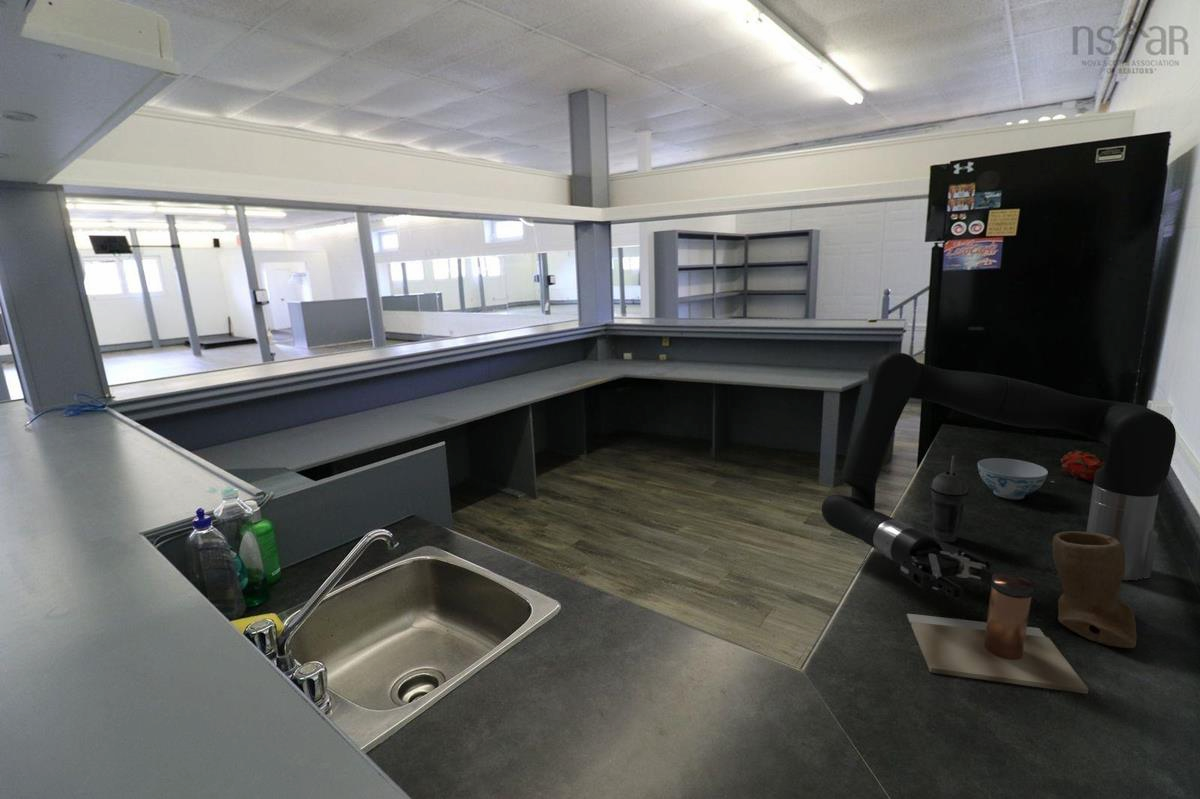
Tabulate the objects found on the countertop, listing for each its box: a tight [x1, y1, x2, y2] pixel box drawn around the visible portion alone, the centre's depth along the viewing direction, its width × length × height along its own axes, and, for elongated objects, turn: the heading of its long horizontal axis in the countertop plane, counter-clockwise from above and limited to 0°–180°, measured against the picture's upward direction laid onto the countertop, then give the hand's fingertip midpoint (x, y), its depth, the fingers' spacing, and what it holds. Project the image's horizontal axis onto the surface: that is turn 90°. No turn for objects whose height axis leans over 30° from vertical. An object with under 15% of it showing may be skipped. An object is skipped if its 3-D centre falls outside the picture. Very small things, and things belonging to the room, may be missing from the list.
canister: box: [984, 572, 1035, 660], centre depth 87 cm, size 5×5×12 cm
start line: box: [906, 613, 1046, 637], centre depth 95 cm, size 20×2×1 cm, turn 74°
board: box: [910, 622, 1089, 695], centre depth 88 cm, size 20×12×1 cm, turn 74°
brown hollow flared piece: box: [1052, 530, 1137, 649], centre depth 94 cm, size 15×12×15 cm
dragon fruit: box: [1060, 450, 1106, 483], centre depth 156 cm, size 8×8×12 cm
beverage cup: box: [930, 454, 969, 543], centre depth 125 cm, size 7×7×20 cm
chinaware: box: [977, 457, 1049, 500], centre depth 148 cm, size 15×15×8 cm
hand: (982, 589), depth 91 cm, fingers open, 8 cm apart
